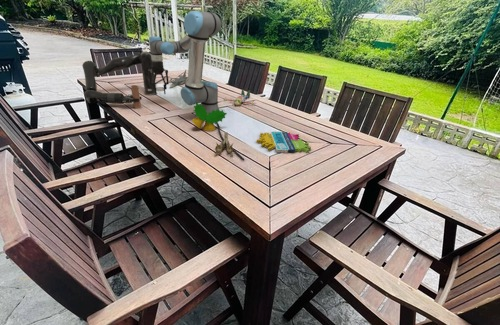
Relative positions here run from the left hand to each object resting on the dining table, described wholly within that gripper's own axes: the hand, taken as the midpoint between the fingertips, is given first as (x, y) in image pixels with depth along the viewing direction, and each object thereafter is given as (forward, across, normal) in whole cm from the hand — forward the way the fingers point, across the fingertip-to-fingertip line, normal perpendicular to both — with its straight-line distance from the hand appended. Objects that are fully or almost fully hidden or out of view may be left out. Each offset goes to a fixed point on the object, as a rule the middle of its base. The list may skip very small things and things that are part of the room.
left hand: (140, 99), depth 189 cm
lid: (+13, +6, -7) cm, 16 cm away
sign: (+95, -56, +6) cm, 110 cm away
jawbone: (+61, -68, +6) cm, 92 cm away
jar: (-3, 0, +6) cm, 7 cm away
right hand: (+13, +6, -3) cm, 15 cm away
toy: (+75, +25, +6) cm, 79 cm away
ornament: (+52, -37, +6) cm, 64 cm away
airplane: (+16, +80, +6) cm, 81 cm away
